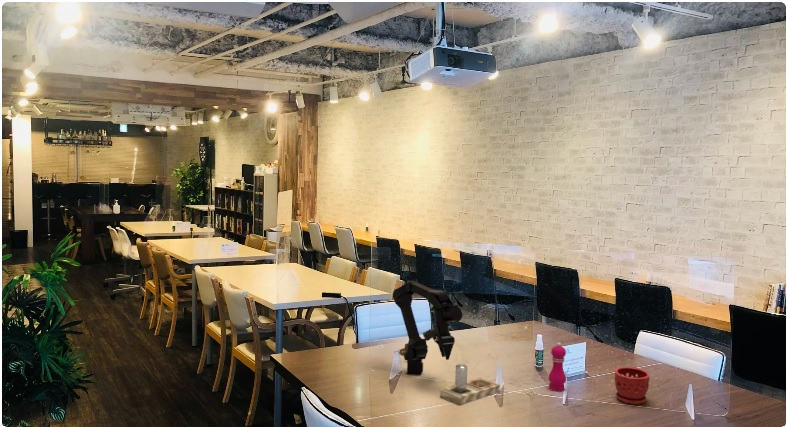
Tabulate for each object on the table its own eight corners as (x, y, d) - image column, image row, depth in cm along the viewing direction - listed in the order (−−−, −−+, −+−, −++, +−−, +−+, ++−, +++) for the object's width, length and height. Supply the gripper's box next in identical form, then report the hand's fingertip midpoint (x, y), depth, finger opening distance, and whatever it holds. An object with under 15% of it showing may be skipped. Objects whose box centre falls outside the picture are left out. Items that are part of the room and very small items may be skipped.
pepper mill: (566, 387, 270) (568, 341, 269) (564, 392, 264) (567, 345, 262) (548, 384, 273) (551, 339, 271) (547, 390, 266) (549, 343, 264)
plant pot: (609, 394, 263) (610, 366, 262) (641, 395, 263) (642, 367, 262) (619, 406, 250) (621, 376, 249) (653, 407, 250) (654, 377, 249)
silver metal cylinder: (454, 399, 253) (455, 367, 252) (455, 395, 257) (456, 363, 256) (465, 400, 252) (466, 368, 251) (466, 396, 256) (468, 365, 255)
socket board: (460, 405, 247) (460, 396, 246) (440, 396, 255) (440, 388, 255) (499, 391, 262) (499, 384, 262) (479, 384, 271) (479, 377, 270)
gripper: (419, 321, 277) (423, 357, 276) (426, 325, 258) (430, 363, 257) (444, 318, 278) (448, 354, 277) (453, 322, 260) (457, 360, 258)
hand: (445, 358), depth 267 cm, fingers open, 9 cm apart
